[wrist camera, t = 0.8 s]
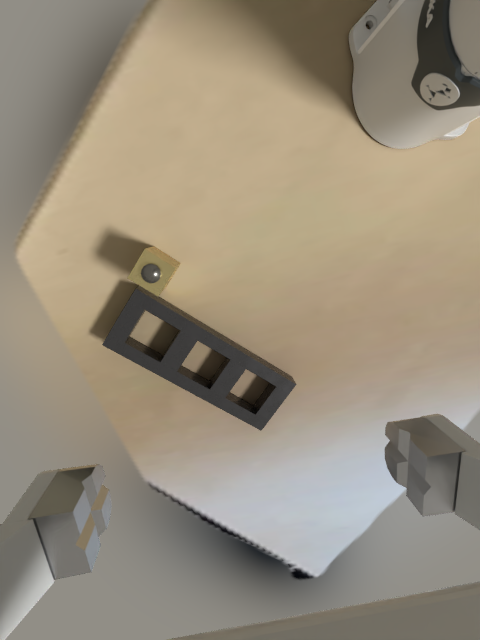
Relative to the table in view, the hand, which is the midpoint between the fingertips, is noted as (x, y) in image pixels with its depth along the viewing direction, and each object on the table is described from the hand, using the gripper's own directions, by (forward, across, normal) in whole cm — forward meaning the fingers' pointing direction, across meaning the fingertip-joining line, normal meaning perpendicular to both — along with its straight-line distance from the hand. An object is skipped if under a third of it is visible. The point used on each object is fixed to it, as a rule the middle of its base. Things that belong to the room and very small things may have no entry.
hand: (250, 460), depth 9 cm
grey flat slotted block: (+36, +3, +11) cm, 37 cm away
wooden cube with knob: (+36, +7, -3) cm, 36 cm away
